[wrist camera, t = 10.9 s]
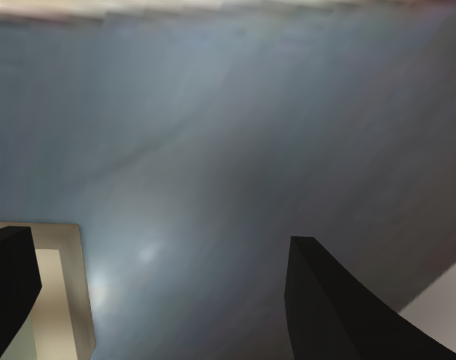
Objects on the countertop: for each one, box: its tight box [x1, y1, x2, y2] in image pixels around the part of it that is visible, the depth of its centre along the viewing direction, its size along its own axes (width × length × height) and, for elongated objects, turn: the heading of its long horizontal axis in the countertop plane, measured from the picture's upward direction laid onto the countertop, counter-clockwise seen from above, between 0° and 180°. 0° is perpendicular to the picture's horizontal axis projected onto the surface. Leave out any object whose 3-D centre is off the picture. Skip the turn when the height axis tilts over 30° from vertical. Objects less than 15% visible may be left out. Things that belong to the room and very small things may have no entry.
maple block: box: [0, 222, 96, 360], centre depth 22 cm, size 9×9×3 cm
